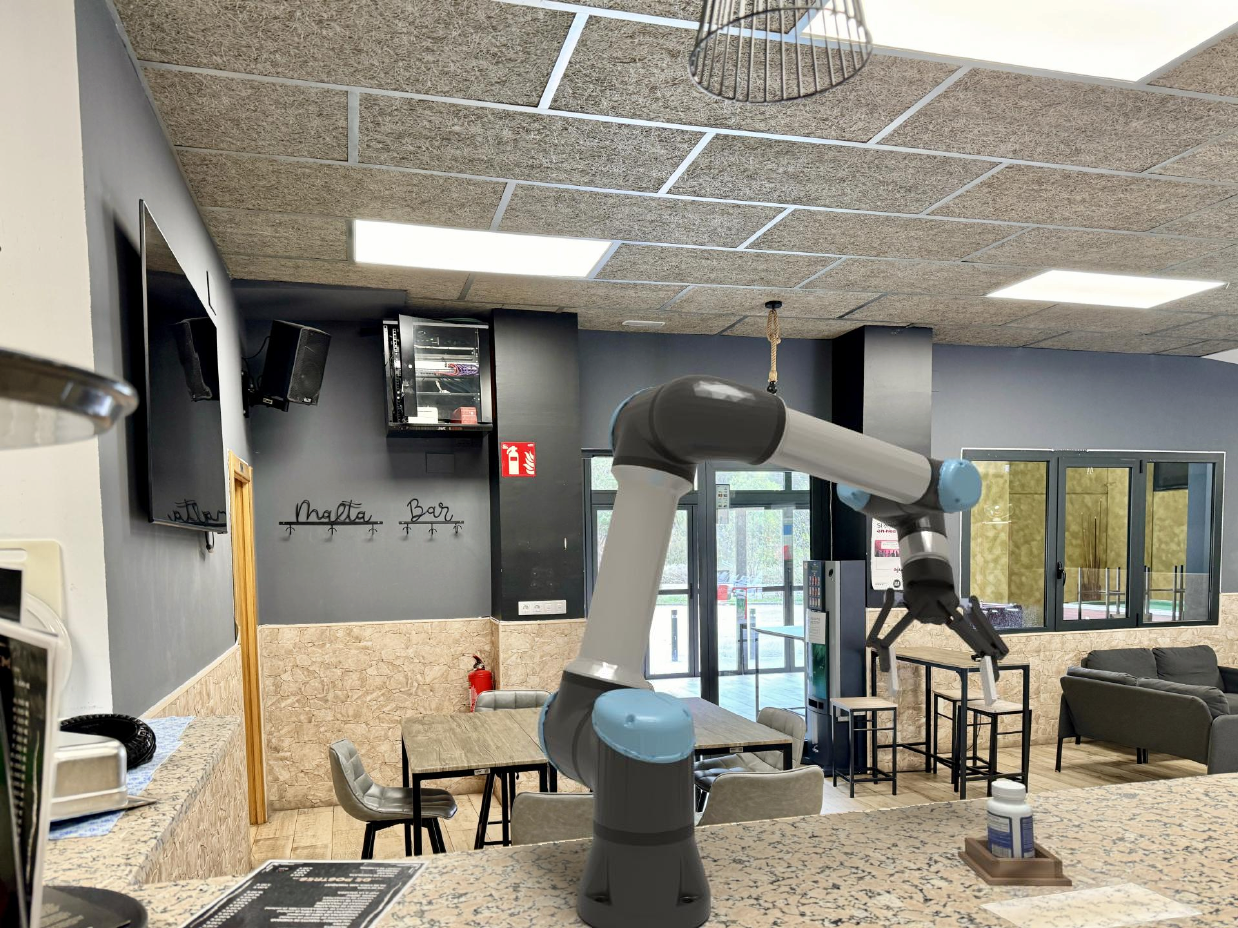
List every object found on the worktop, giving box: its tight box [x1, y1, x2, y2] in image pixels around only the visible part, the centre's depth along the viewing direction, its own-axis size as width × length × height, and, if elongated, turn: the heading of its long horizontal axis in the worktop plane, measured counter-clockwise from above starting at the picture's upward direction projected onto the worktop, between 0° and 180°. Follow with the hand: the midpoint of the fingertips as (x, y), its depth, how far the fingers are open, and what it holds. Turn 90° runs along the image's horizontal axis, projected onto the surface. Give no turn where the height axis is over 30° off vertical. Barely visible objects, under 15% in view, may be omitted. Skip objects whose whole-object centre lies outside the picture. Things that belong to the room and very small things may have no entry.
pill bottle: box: [986, 780, 1035, 858], centre depth 109 cm, size 5×5×10 cm
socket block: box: [957, 836, 1073, 887], centre depth 108 cm, size 10×10×3 cm
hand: (942, 698), depth 120 cm, fingers open, 13 cm apart
